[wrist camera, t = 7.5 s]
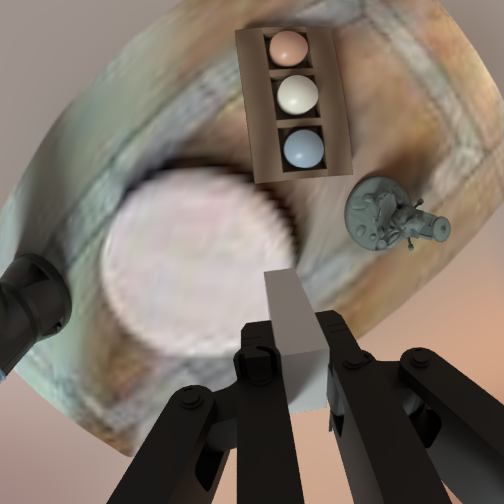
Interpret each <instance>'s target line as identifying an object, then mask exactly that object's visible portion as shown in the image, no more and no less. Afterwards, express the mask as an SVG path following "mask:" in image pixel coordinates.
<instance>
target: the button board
mask: <svg viewBox="0 0 504 504" xmlns="http://www.w3.org/2000/svg"><path fill="white" fill-rule="evenodd" d="M283 31H292V32H296V33H298V34H300V35H301V36H302V37H303V38H304V39H305V40H306V42H307V44H308V52H307V54H306V56H305V57H304V59H303V60H302V62H301V63H300V65H298V66H297V67H295V68H292V69H283V68H280V67H278V66H276V65H275V64H274V63H273V62H272V61H271V60H270V58H269V48H270V44H271V40H272V38H273V37H274V36H275V35H276V34H277V33H279V32H283ZM235 39H236V47H237V54H238V61H239V68H240V75H241V83H242V90H243V97H244V105H245V112H246V120H247V127H248V135H249V142H250V150H251V158H252V166H253V173H254V181H255V183H256V184H257V183H265V182H274V181H283V180H293V179H303V178H314V177H326V176H340V175H353V166H352V156H351V146H350V137H349V129H348V121H347V114H346V107H345V100H344V94H343V88H342V82H341V77H340V71H339V66H338V61H337V56H336V51H335V47H334V42H333V38H332V34H331V29H330V27H304V26H294V27H265V28H251V29H241V30H235ZM294 75H300V76H304V77H307V78H308V79H310V80H311V81H312V82H313V83H314V84H315V85H316V87H317V90H318V100H317V102H316V104H315V105H314V106H313V107H312V108H311V109H309V110H308V111H307V112H306V113H304V114H301V115H290V114H288V113H286V112H284V111H283V110H282V109H281V108H280V107H279V105H278V103H277V99H276V95H277V92H278V90H279V87H280V85H281V84H282V82H283V81H284V80H285V79H286V78H288V77H290V76H294ZM299 130H309V131H312V132H314V133H315V134H317V135H318V136H319V137H320V139H321V140H322V143H323V146H324V153H323V156H322V158H321V160H320V161H319V162H318V163H317V164H316V165H314V166H312V167H308V168H303V167H296V166H293V165H291V164H290V163H288V162H287V160H286V159H285V157H284V155H283V151H282V148H283V143H284V141H285V139H286V138H287V137H288V136H289V135H291V134H293V133H294V132H296V131H299Z"/></svg>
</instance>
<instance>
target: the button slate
mask: <svg viewBox="0 0 504 504" xmlns="http://www.w3.org/2000/svg"><path fill="white" fill-rule="evenodd" d="M282 151H283V155H284V157H285V159H286V160H287V162H288V163H290V164H291V165H293V166H296V167H303V168H308V167H312V166H314V165H316V164H317V163H318V162H319V161H320V160H321V158H322V156H323V153H324V146H323V143H322V140H321V139H320V137H319V136H318V135H317V134H315V133H314V132H312V131H309V130H299V131H296V132H294V133H293V134H291V135H289V136H288V137H287V138H286V139H285V141H284V143H283V148H282Z"/></svg>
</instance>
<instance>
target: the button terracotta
mask: <svg viewBox="0 0 504 504" xmlns="http://www.w3.org/2000/svg"><path fill="white" fill-rule="evenodd" d="M307 52H308V44H307V42H306V40H305V39H304V38H303V37H302V36H301V35H300V34H298V33H296V32H292V31H283V32H279V33H277V34H276V35H275V36H274V37H273V38H272V40H271V44H270V48H269V58H270V60H271V61H272V62H273V63H274V64H275V65H276V66H278V67H280V68H283V69H292V68H295V67H297V66H298V65H300V63H301V62H302V60H303V59H304V57H305V56H306V54H307Z"/></svg>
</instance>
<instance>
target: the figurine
mask: <svg viewBox="0 0 504 504" xmlns="http://www.w3.org/2000/svg"><path fill="white" fill-rule="evenodd" d="M423 202H424V201H423V199H421V198H420V199H419V200H418V201H417V204H416V205H415V206H413V205H412V204H411V202H410V199H409V196H408V194H407V192H406V191H405V189H404V188H403V187H402V186H401V185H400V184H399V183H398V182H397V181H395V180H393V179H391V178H387V177H382V176H375V177H370V178H367V179H365V180H363V181H361V182H360V183H359V184H358V185H357V186H356V187H355V188H354V189H353V190H352V191H351V193H350V195H349V197H348V199H347V202H346V205H345V212H344V217H345V224H346V228H347V230H348V232H349V234H350V236H351V237H352V239H353V240H354V241H355V242H356V243H358V244H359V245H360V246H362V247H363V248H365V249H368V250H371V251H383V250H387V249H389V248H391V247H393V246H395V245H396V244H397V243H398V242H399V241H400V240H401V239H406V238H407V239H408V242H409V245H408V248H409V250H410V251H411V250H413V249H414V247H413V244H411V241H410V237H414V238H417V239H418V237H419V238H423V239H427V240H432V239H433V238H434V239H435V240H436V241H438V242H444V241H445V240H447V238H448V237H449V235H450V230H451V227H450V223H449V221H448V219H447V218H445V217H437V216H435V215H432V214H429V213H426V212H424V211H421V210H417V209H415V208H416V207H417V206H418V205H421V204H423ZM432 236H433V237H432Z"/></svg>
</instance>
